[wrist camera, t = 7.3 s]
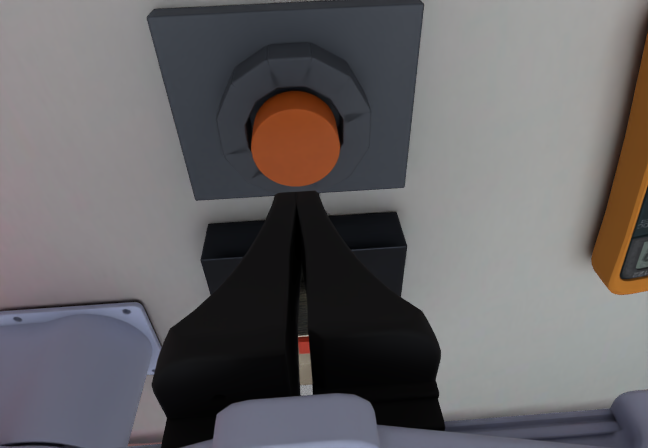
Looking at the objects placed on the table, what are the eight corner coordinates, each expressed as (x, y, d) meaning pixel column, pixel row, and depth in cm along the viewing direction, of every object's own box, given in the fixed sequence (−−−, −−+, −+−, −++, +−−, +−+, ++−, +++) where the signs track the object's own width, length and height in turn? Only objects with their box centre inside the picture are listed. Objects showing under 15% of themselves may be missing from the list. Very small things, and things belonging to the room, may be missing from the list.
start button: (258, 167, 20) (256, 189, 19) (247, 92, 18) (245, 111, 17) (336, 163, 20) (340, 184, 19) (335, 87, 18) (339, 106, 17)
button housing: (198, 187, 24) (189, 223, 22) (152, 8, 18) (133, 30, 16) (400, 175, 24) (412, 209, 22) (417, -4, 19) (436, 15, 16)
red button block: (322, 331, 28) (326, 387, 25) (298, 332, 28) (300, 389, 25) (320, 281, 25) (325, 338, 22) (293, 282, 25) (295, 340, 22)
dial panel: (232, 321, 31) (228, 360, 29) (207, 223, 26) (199, 262, 23) (387, 310, 32) (395, 347, 29) (396, 211, 26) (408, 248, 24)
